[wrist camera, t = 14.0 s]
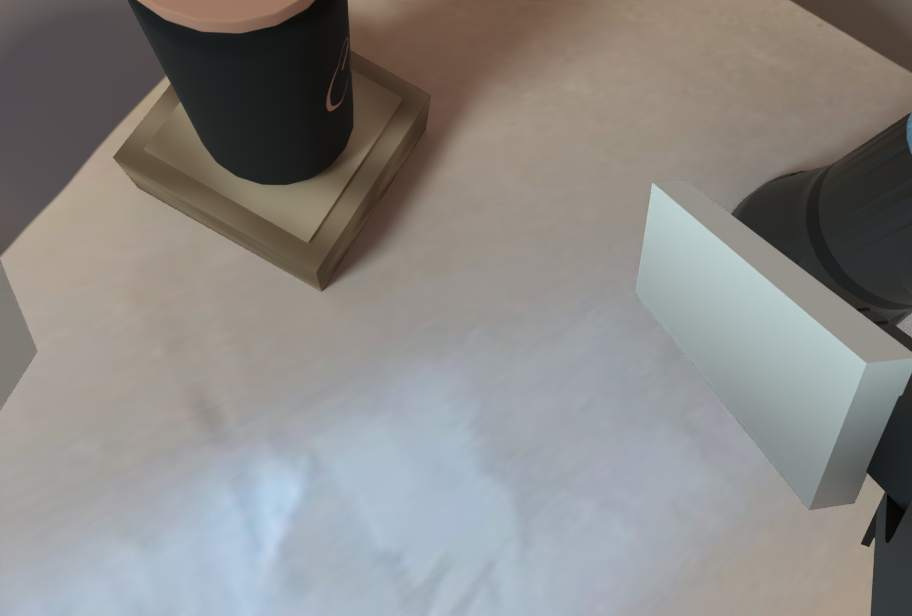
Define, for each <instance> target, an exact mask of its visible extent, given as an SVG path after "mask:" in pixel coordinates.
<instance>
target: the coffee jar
mask: <svg viewBox="0 0 912 616" xmlns="http://www.w3.org/2000/svg"><path fill="white" fill-rule="evenodd" d="M128 2H129V4H130V6H131V8H132V10H133V12H134V13H135V16H136V17H137V19H138V21H139V23H140V25H141V27H142V29H143V31H144V33H145V35H146V37H147V39H148V40H149V42H150V44H151V46H152V48H153V50H154V52H155V54H156V56H157V58H158V60H159V61H160V63H161V65H162V67H163V69H164V71H165V73H166V75H167V77H168V79H169V81H170V83H171V84H172V86H173V88H174V90H175V92H176V94H177V96H178V98H179V100H180V102H181V104H182V106H183V107H184V109H185V111H186V113H187V115H188V117H189V119H190V121H191V123H192V125H193V127H194V128H195V130H196V132H197V134H198V136H199V138H200V140H201V142H202V144H203V145H204V146H205V148H206V149H207V151H208V152H209V153H210V155H211V156H212V157H213V159H214V160H215V161H216V163H218V164H219V165H221V166H222V167H223V168H225V169H226V170H228V171H229V172H231V173H232V174H234V175H235V176H236V177H239V178H242V179H245V180H249V181H252V182H255V183H258V184H261V185H290V184H293V183H297V182H301V181H304V180H308V179H311V178H312V177H314V176H316V175H317V174H319V173H320V172H322V171H324V170H325V169H327V168H328V167H330V166H331V165H332V164H333V162H334V161H335V160H336V159H337V158H338V157H339V155H340V154H341V153H342V152H343V151H344V149H345V148H346V146H347V143H348V140H349V138H350V135H351V132H352V130H353V112H354V105H353V88H352V70H351V53H350V36H349V18H348V1H347V0H128Z"/></svg>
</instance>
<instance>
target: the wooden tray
mask: <svg viewBox="0 0 912 616" xmlns="http://www.w3.org/2000/svg"><path fill="white" fill-rule="evenodd" d="M350 53H351V70H352V88H353V105H354V112H353V130H352V132H351V135H350V138H349V140H348V143H347V146H346V148H345V149H344V151H343V152H342V153H341V154H340V155H339V157H338V158H337V159H336V160H335V161H334V162H333V164H332V165H331V166H330V167H328V168H327V169H325V170H324V171H322V172H320V173H319V174H317V175H316V176H314V177H312V178H311V179H308V180H304V181H301V182H297V183H293V184H290V185H261V184H258V183H255V182H252V181H249V180H245V179H242V178H239V177H236V176H235V175H234V174H232V173H231V172H229V171H228V170H226V169H225V168H223V167H222V166H221V165H219V164H218V163H216V161H215V160H214V159H213V157H212V156H211V155H210V153H209V152H208V151H207V149H206V148H205V146H204V145H203V144H202V142H201V140H200V138H199V136H198V134H197V132H196V130H195V128H194V127H193V125H192V123H191V121H190V119H189V117H188V115H187V113H186V111H185V109H184V107H183V106H182V104H181V102H180V100H179V98H178V96H177V94H176V92H175V90H174V88H173V86H172V84H171V85H170V86H169V87H168V88H167V90H166V91H165V92H164V93H163V95H162V96H161V97H160V98H159V100H158V101H157V102H156V103H155V105H154V106H153V107H152V108H151V110H150V111H149V112H148V114H147V115H146V116H145V117H144V119H143V120H142V121H141V122H140V124H139V125H138V126H137V127H136V129H135V130H134V131H133V132H132V134H131V135H130V136H129V138H128V139H127V140H126V141H125V143H124V144H123V145H122V146H121V148H120V149H119V150H118V151H117V153H116V154H115V155H114V156H113V158H114V159H115V161H116V162H117V163H118V164H119V165H120V167H121V168H122V169H123V170H124V171H125V173H126V174H127V175H128V176H129V177H130V179H131V180H132V181H133V182H134V183H135V185H136V186H137V187H138V188H139V189H141V190H143V191H145V192H147V193H148V194H150V195H152V196H154V197H155V198H157V199H159V200H161V201H162V202H164V203H166V204H168V205H169V206H171V207H173V208H175V209H177V210H178V211H180V212H182V213H184V214H185V215H187V216H189V217H191V218H192V219H194V220H196V221H198V222H199V223H201V224H203V225H205V226H207V227H208V228H210V229H212V230H214V231H215V232H217V233H219V234H221V235H222V236H224V237H226V238H228V239H230V240H231V241H233V242H235V243H237V244H238V245H240V246H242V247H244V248H245V249H247V250H249V251H251V252H252V253H254V254H256V255H258V256H260V257H261V258H263V259H265V260H267V261H268V262H270V263H272V264H274V265H275V266H277V267H279V268H281V269H282V270H284V271H286V272H288V273H290V274H291V275H293V276H295V277H297V278H298V279H300V280H302V281H304V282H305V283H307V284H309V285H311V286H312V287H314V288H316V289H318V290H320V291H321V292H322V290H323V289H324V287H325V286H326V284H327V282H328V281H329V279H330V278H331V276H332V275H333V273H334V271H335V270H336V268H337V267H338V265H339V264H340V262H341V261H342V259H343V257H344V256H345V254H346V253H347V251H348V250H349V248H350V246H351V245H352V243H353V242H354V240H355V239H356V237H357V236H358V234H359V232H360V231H361V229H362V228H363V226H364V225H365V223H366V221H367V220H368V218H369V217H370V215H371V214H372V212H373V211H374V209H375V207H376V206H377V204H378V203H379V201H380V200H381V198H382V196H383V195H384V193H385V192H386V190H387V189H388V187H389V186H390V184H391V182H392V181H393V179H394V178H395V176H396V175H397V173H398V171H399V170H400V168H401V167H402V165H403V164H404V162H405V161H406V159H407V157H408V156H409V154H410V153H411V151H412V150H413V148H414V146H415V145H416V143H417V142H418V140H419V139H420V137H421V136H422V134H423V132H424V131H425V129H426V124H427V117H428V110H429V104H430V97H431V95H429V94H428V93H426V92H424V91H422V90H420V89H419V88H417V87H415V86H413V85H412V84H410V83H408V82H406V81H404V80H403V79H401V78H399V77H397V76H395V75H394V74H392V73H390V72H388V71H386V70H385V69H383V68H381V67H379V66H378V65H376V64H374V63H372V62H370V61H369V60H367V59H365V58H363V57H361V56H360V55H358V54H356V53H354V52H353V51H351V50H350Z"/></svg>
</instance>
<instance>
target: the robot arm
mask: <svg viewBox="0 0 912 616" xmlns="http://www.w3.org/2000/svg"><path fill="white" fill-rule="evenodd" d="M635 294H636V295H637V297H638V298H639V299H640V300H641V302H642V303H643V304H644V305H645V307H646V308H647V309H648V310H649V312H650V313H651V314H652V315H653V317H654V318H655V319H656V320H657V322H658V323H659V324H660V325H661V326H662V328H663V329H664V330H665V331H666V333H667V334H668V335H669V336H670V338H671V339H672V340H673V341H674V343H675V344H676V345H677V346H678V348H679V349H680V350H681V351H682V353H683V354H684V355H685V356H686V358H687V359H688V360H689V361H690V363H691V364H692V365H693V366H694V368H695V369H696V370H697V371H698V373H699V374H700V375H701V376H702V377H703V379H704V380H705V381H706V382H707V384H708V385H709V386H710V387H711V389H712V390H713V391H714V392H715V394H716V395H717V396H718V397H719V399H720V400H721V401H722V402H723V404H724V405H725V406H726V407H727V409H728V410H729V411H730V412H731V414H732V415H733V416H734V417H735V419H736V420H737V421H738V422H739V424H740V425H741V426H742V427H743V429H744V430H745V431H746V432H747V433H748V435H749V436H750V437H751V438H752V440H753V441H754V442H755V443H756V445H757V446H758V447H759V448H760V450H761V451H762V452H763V453H764V455H765V456H766V457H767V458H768V460H769V461H770V462H771V463H772V465H773V466H774V467H775V468H776V470H777V471H778V472H779V473H780V475H781V476H782V477H783V478H784V480H785V481H786V482H787V483H788V484H789V486H790V487H791V488H792V489H793V491H794V492H795V493H796V494H797V496H798V497H799V498H800V499H801V501H802V502H803V503H804V504H805V506H806V507H807V508H808V509H809V510H813V509H819V508H826V507H832V506H839V505H845V504H852V503H855V500H856V498H857V496H858V494H859V491H860V489H861V487H862V485H863V482H864V480H865V478H866V475H867V473H868V474H869V475H870V476H871V477H872V478H873V479H874V480H875V481H876V482H877V483H878V485H879V486H880V487H881V488H882V489H883V490H884V491H885V493H884V495H883V497H882V499H881V502H880V504H879V506H878V508H877V510H876V512H875V514H874V517H873V519H872V521H871V523H870V525H869V527H868V529H867V531H866V534H865V536H864V538H863V540H862V542H861V544H862V545H865V546H868V547H869V546H870V544H871V542H872V540H873V538H875V551H874V568H873V584H872V601H871V616H912V338H911V337H910V336H909V335H907V334H906V333H904V332H903V331H902V330H900V329H899V328H898V327H896V326H897V325H898V324H899V323H900V322H901V321H903V320H904V319H905V318H906V317H907V316H908V315H910V314H911V313H912V112H911V113H909V114H908V115H906V116H905V117H903V118H902V119H900V120H899V121H897V122H896V123H894V124H893V125H891V126H890V127H888V128H887V129H885V130H884V131H882V132H881V133H879V134H877V135H876V136H874V137H873V138H871V139H870V140H868V141H867V142H865V143H864V144H862V145H861V146H859V147H858V148H856V149H855V150H853V151H852V152H850V153H849V154H847V155H846V156H844V157H843V158H841V159H840V160H838V161H837V162H835V163H834V164H832V165H830V166H826V167H822V168H818V169H814V170H810V171H801V172H796V173H790V174H786V175H783V176H780V177H778V178H775V179H773V180H771V181H769V182H767V183H766V184H764V185H762V186H761V187H760V188H758V189H757V190H756V191H754V192H753V193H751V194H750V195H749V196H748V197H746V198H745V199H744V200H743V201H742V202H741V203H740V204H739V205H738V206H737V207H736V209H735V210H734V211H733V213H732V214H730V213H728V212H727V211H726V210H724V209H723V208H722V207H720V206H719V205H718V204H716V203H715V202H714V201H712V200H711V199H710V198H709V197H707V196H706V195H705V194H703V193H702V192H701V191H699V190H698V189H697V188H695V187H694V186H693V185H691V184H690V183H689V182H688V181H686V180H684V181H670V182H656V183H652V190H651V196H650V202H649V209H648V215H647V221H646V228H645V234H644V241H643V247H642V253H641V260H640V266H639V272H638V279H637V285H636V292H635ZM36 353H37V349H36V346H35V344H34V341H33V339H32V336H31V334H30V331H29V329H28V327H27V324H26V322H25V319H24V317H23V314H22V312H21V309H20V307H19V305H18V302H17V300H16V297H15V295H14V292H13V290H12V288H11V285H10V283H9V280H8V278H7V275H6V273H5V270H4V268H3V266H2V263H1V261H0V410H1V409H2V407H3V405H4V404H5V402H6V401H7V399H8V398H9V396H10V394H11V393H12V391H13V390H14V388H15V386H16V385H17V383H18V382H19V380H20V378H21V377H22V375H23V374H24V372H25V371H26V369H27V367H28V366H29V364H30V363H31V361H32V359H33V358H34V356H35V355H36Z"/></svg>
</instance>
